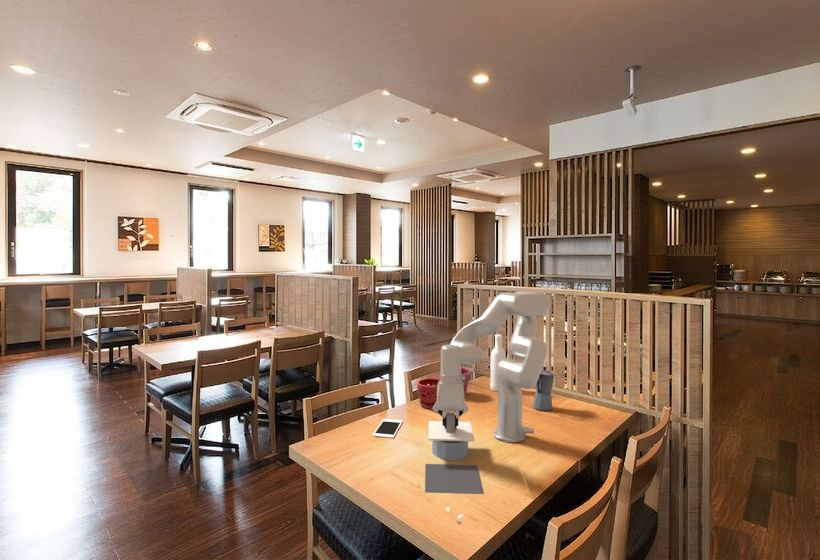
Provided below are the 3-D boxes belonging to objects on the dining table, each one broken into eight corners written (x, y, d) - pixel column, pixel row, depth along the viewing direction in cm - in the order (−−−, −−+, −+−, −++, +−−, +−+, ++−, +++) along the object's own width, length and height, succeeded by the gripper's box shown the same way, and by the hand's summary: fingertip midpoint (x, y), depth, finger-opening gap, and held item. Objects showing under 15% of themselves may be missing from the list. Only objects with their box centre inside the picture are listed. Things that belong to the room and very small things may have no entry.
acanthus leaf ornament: (459, 527, 118) (459, 520, 118) (442, 515, 124) (442, 509, 124) (478, 516, 123) (478, 510, 123) (461, 505, 128) (461, 499, 128)
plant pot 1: (426, 399, 221) (426, 376, 220) (449, 404, 213) (449, 380, 212) (411, 406, 210) (412, 382, 209) (434, 412, 202) (434, 387, 202)
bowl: (466, 446, 166) (466, 428, 166) (469, 462, 153) (469, 443, 153) (432, 445, 167) (432, 428, 167) (432, 461, 154) (432, 442, 154)
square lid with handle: (470, 423, 167) (470, 406, 167) (474, 441, 151) (474, 423, 151) (428, 422, 168) (428, 405, 168) (428, 440, 152) (428, 422, 152)
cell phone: (403, 422, 191) (403, 420, 191) (393, 439, 174) (393, 437, 174) (383, 420, 193) (383, 418, 193) (372, 437, 175) (372, 435, 175)
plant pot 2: (462, 400, 219) (463, 375, 218) (438, 395, 227) (438, 371, 226) (474, 392, 231) (475, 369, 230) (451, 388, 239) (451, 365, 238)
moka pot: (557, 405, 212) (558, 365, 211) (548, 415, 199) (549, 372, 198) (537, 402, 217) (538, 362, 216) (528, 411, 204) (529, 369, 203)
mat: (477, 467, 150) (477, 465, 150) (483, 497, 132) (483, 493, 132) (425, 466, 151) (425, 463, 151) (424, 495, 133) (424, 492, 133)
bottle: (488, 387, 241) (489, 333, 240) (502, 386, 242) (503, 333, 240) (492, 391, 233) (493, 336, 232) (506, 391, 234) (507, 336, 232)
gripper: (472, 376, 162) (471, 424, 163) (428, 375, 163) (428, 423, 164) (474, 382, 154) (473, 432, 156) (428, 381, 155) (428, 431, 156)
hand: (450, 427), depth 160 cm, fingers closed on square lid with handle, 3 cm apart
